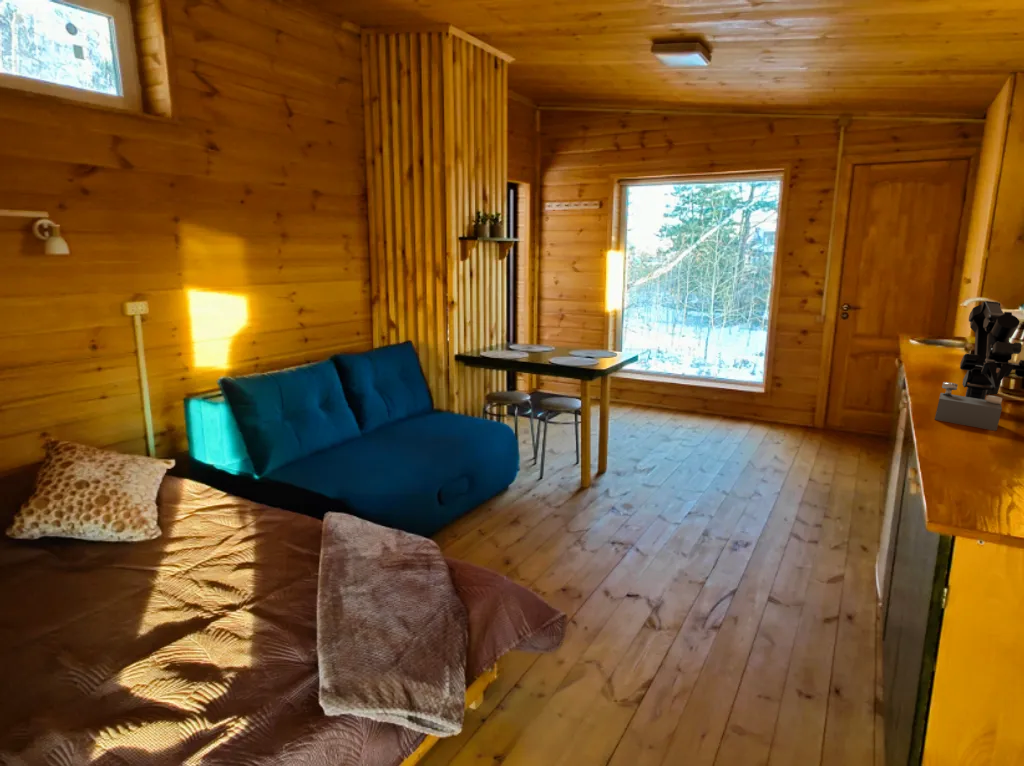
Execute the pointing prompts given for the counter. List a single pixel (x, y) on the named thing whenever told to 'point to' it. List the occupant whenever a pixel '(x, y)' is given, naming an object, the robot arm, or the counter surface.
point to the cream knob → (994, 399)
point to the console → (968, 411)
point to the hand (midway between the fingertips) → (996, 387)
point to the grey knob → (949, 387)
